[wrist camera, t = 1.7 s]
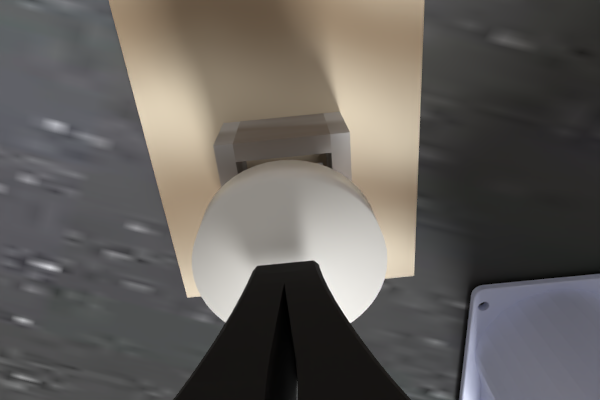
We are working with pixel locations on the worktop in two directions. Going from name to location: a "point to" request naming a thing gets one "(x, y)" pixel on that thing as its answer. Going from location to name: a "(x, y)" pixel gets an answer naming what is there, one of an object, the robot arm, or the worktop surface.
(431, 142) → the worktop surface
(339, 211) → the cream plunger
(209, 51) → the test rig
